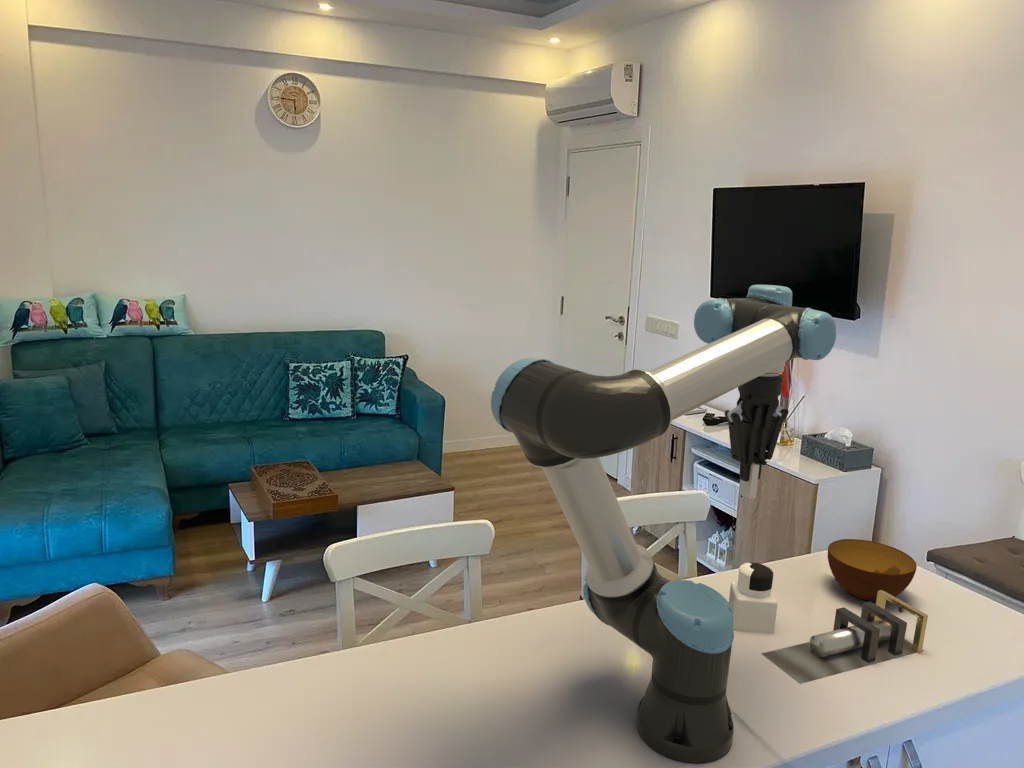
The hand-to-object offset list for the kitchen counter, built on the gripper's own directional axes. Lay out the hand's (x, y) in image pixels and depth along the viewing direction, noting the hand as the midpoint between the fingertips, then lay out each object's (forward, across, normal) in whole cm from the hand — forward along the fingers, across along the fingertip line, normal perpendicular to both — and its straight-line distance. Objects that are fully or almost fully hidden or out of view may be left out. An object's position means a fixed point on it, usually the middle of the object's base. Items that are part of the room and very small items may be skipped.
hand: (747, 496), depth 138 cm
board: (+30, +18, -11) cm, 37 cm away
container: (+31, +8, +4) cm, 32 cm away
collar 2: (+29, +27, -11) cm, 41 cm away
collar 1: (+29, +20, -11) cm, 37 cm away
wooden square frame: (+29, +32, -11) cm, 44 cm away
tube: (+29, +22, -11) cm, 38 cm away
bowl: (+31, +41, +5) cm, 51 cm away
